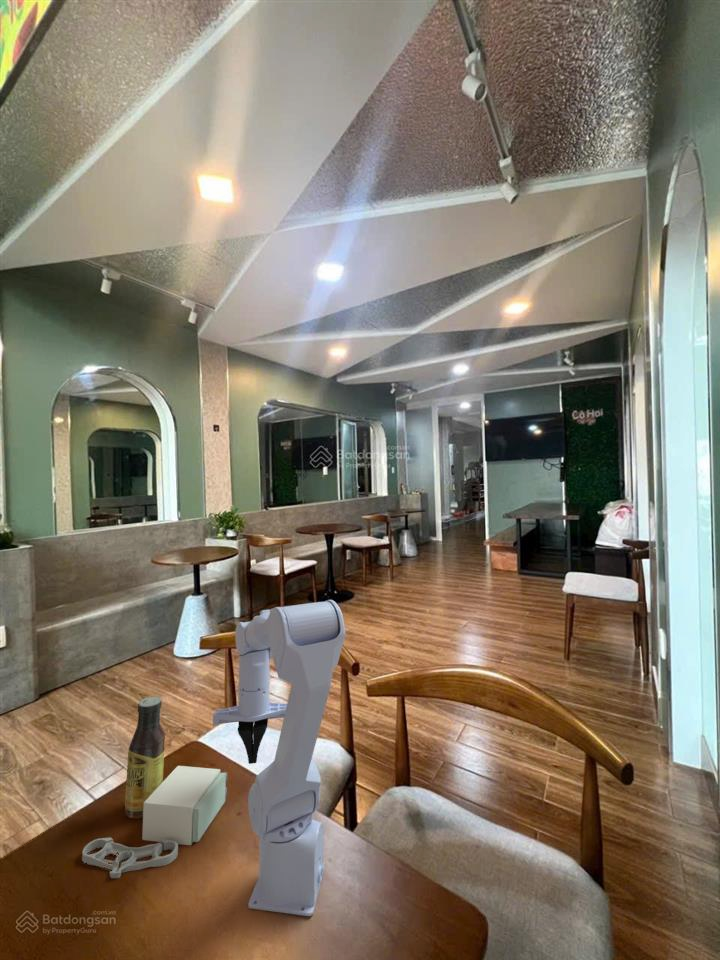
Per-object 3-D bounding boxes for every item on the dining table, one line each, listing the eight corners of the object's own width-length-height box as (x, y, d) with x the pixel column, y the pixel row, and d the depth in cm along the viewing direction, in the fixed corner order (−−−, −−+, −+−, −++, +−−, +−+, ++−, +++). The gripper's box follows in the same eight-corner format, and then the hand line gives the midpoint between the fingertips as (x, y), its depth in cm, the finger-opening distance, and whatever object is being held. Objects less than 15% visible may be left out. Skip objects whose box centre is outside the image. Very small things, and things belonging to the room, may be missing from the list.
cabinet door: (227, 798, 76) (228, 770, 76) (198, 842, 66) (199, 809, 66) (222, 797, 76) (222, 769, 77) (191, 841, 66) (192, 808, 66)
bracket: (116, 820, 69) (182, 840, 65) (115, 831, 69) (182, 853, 64) (73, 855, 62) (144, 881, 58) (72, 868, 62) (144, 895, 57)
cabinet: (219, 801, 75) (220, 769, 76) (190, 845, 66) (191, 807, 66) (176, 797, 77) (177, 765, 77) (142, 839, 67) (143, 802, 67)
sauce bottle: (117, 812, 73) (122, 702, 75) (150, 792, 78) (154, 690, 80) (136, 827, 69) (141, 711, 71) (169, 805, 75) (173, 698, 76)
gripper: (292, 673, 79) (292, 743, 78) (218, 679, 77) (216, 751, 76) (292, 689, 72) (291, 765, 71) (211, 695, 70) (209, 775, 69)
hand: (252, 760), depth 73 cm, fingers closed
